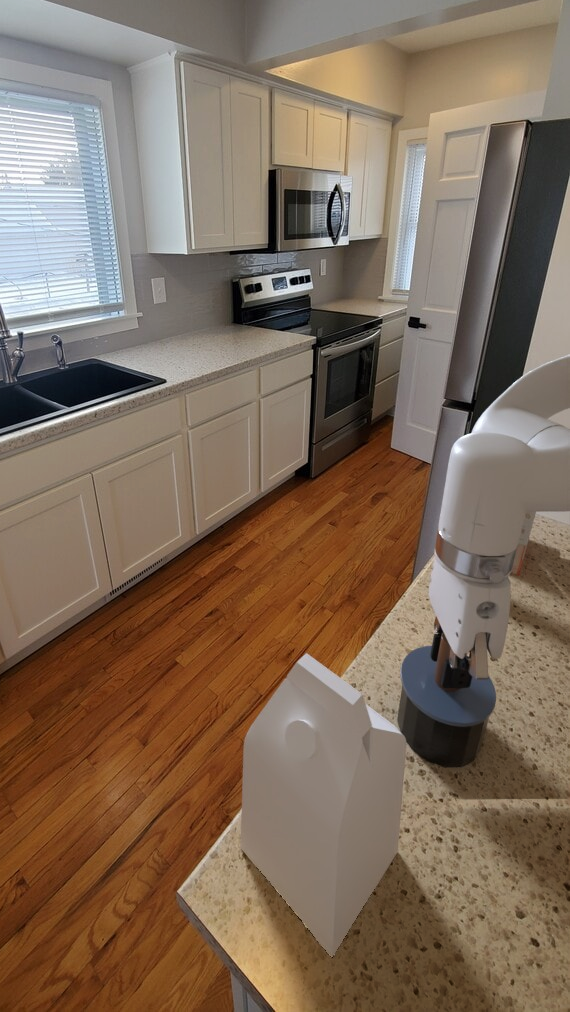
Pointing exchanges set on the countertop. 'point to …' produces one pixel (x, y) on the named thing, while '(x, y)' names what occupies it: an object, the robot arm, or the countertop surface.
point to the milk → (322, 798)
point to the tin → (439, 736)
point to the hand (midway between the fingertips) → (449, 671)
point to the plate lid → (445, 689)
